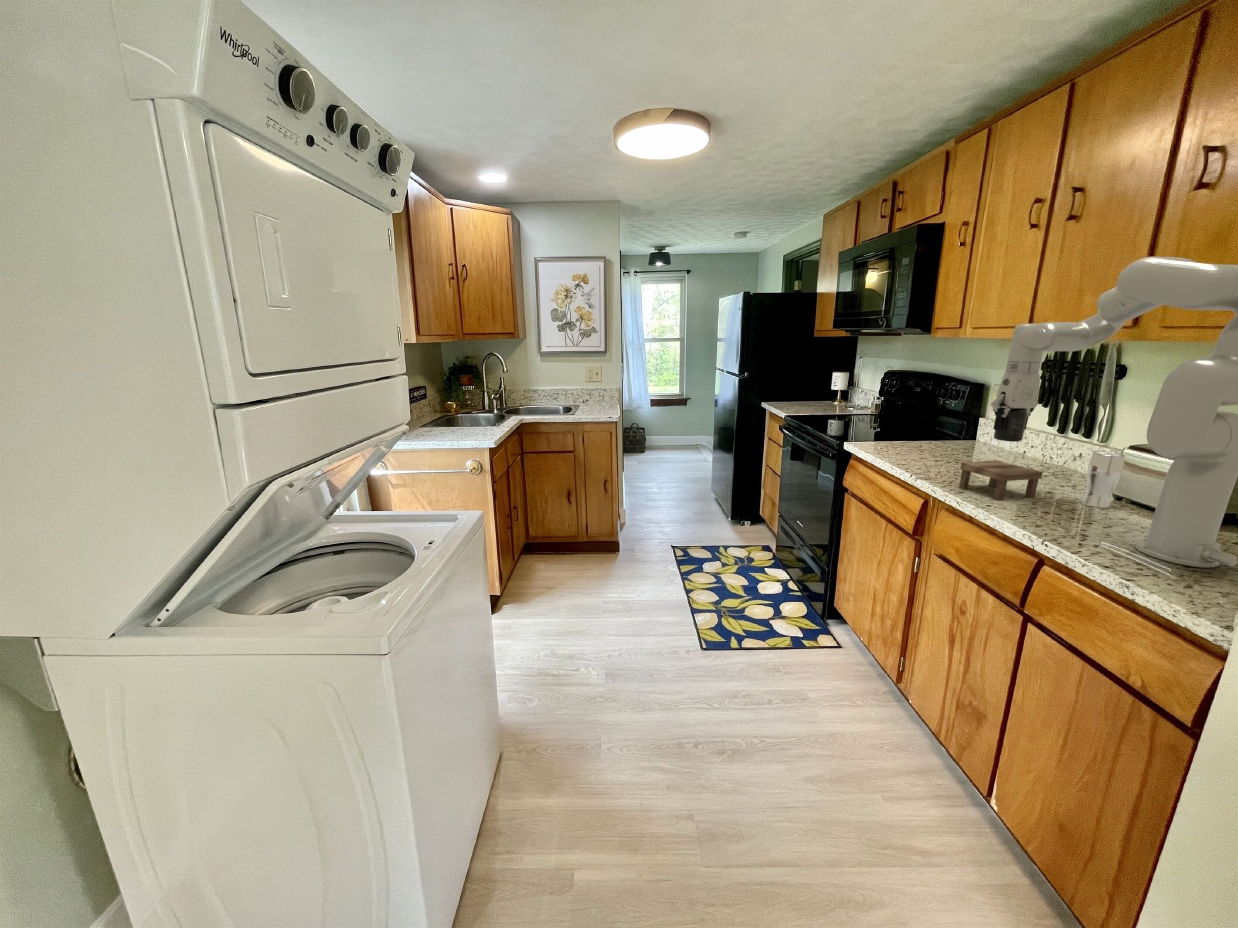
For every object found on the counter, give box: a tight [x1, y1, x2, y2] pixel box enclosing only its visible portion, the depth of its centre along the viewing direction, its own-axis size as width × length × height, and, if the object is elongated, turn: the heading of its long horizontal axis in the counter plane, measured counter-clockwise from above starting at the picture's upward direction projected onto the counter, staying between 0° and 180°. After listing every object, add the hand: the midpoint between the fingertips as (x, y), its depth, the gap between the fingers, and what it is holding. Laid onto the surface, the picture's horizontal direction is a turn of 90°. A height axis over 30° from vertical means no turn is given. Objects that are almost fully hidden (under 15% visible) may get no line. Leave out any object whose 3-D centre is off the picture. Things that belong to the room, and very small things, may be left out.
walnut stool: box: [958, 460, 1044, 502], centre depth 151 cm, size 14×14×8 cm
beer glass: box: [1080, 450, 1126, 509], centre depth 141 cm, size 7×7×15 cm
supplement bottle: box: [993, 405, 1027, 443], centre depth 147 cm, size 7×7×12 cm
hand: (1009, 429), depth 147 cm, fingers closed on supplement bottle, 6 cm apart
